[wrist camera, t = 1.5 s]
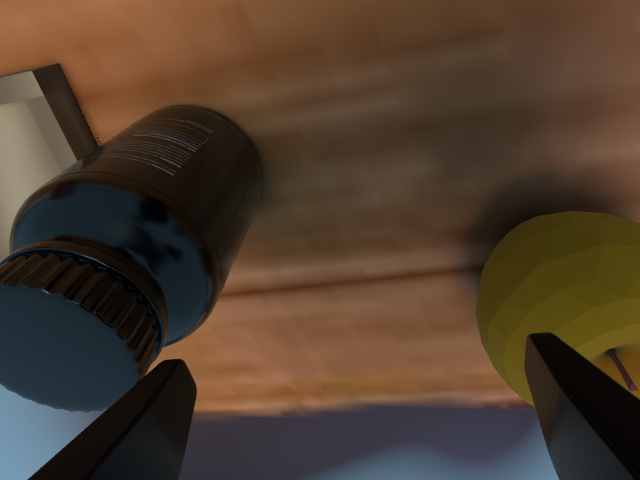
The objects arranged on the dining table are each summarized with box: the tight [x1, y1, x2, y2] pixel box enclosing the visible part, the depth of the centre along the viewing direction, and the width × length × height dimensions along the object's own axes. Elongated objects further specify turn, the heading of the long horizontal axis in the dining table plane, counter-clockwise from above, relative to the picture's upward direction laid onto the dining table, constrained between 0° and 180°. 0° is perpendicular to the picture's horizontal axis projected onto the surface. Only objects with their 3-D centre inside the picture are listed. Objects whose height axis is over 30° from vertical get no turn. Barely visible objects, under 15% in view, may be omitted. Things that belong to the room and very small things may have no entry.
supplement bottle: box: [0, 106, 262, 412], centre depth 16 cm, size 7×7×12 cm
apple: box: [476, 211, 640, 407], centre depth 18 cm, size 9×8×9 cm
